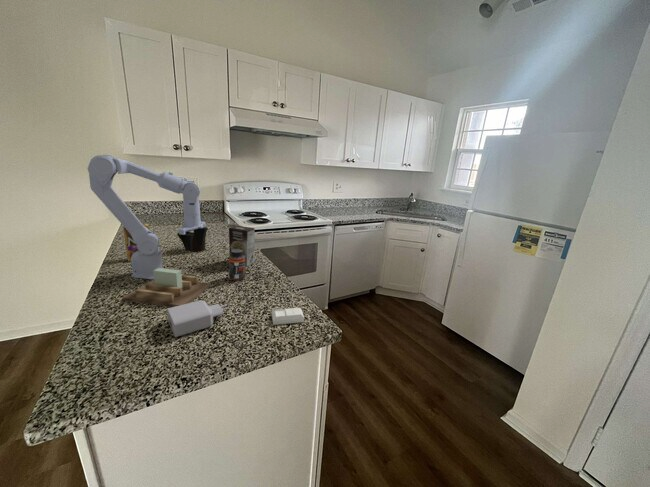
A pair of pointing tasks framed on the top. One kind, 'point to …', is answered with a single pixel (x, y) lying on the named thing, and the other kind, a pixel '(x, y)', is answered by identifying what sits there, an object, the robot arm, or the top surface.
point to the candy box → (131, 243)
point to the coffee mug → (197, 247)
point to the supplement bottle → (236, 265)
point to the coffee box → (242, 242)
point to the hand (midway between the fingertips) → (194, 247)
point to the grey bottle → (192, 317)
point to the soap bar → (287, 316)
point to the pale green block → (168, 277)
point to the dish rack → (168, 293)
